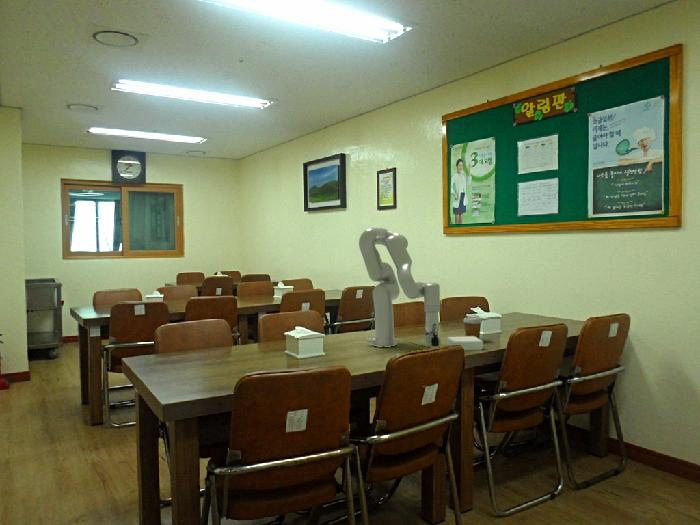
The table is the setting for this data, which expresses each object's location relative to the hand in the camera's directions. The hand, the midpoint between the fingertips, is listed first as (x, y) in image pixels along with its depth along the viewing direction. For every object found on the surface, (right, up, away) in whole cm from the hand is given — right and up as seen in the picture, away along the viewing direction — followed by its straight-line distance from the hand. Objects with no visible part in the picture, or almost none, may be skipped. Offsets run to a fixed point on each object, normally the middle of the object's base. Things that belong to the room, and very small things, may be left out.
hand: (433, 344), depth 257 cm
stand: (+16, -2, +3) cm, 16 cm away
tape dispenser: (0, -3, 0) cm, 3 cm away
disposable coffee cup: (+23, -2, +18) cm, 30 cm away
